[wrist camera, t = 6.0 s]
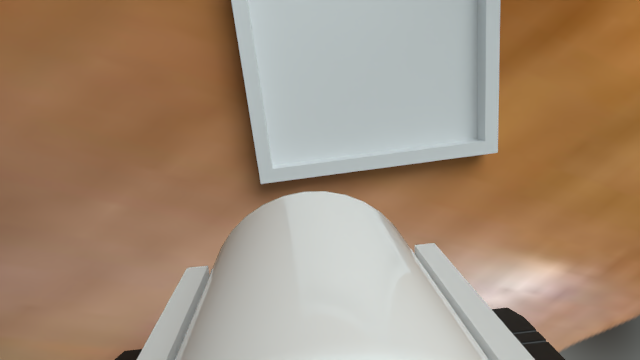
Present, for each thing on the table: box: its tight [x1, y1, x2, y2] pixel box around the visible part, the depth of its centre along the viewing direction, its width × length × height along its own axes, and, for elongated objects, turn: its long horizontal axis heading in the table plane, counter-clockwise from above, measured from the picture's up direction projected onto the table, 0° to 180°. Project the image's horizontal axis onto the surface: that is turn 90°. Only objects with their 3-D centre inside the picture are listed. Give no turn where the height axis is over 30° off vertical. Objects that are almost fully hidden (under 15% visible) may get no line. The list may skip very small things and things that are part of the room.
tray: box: [231, 0, 500, 184], centre depth 26 cm, size 18×18×2 cm
